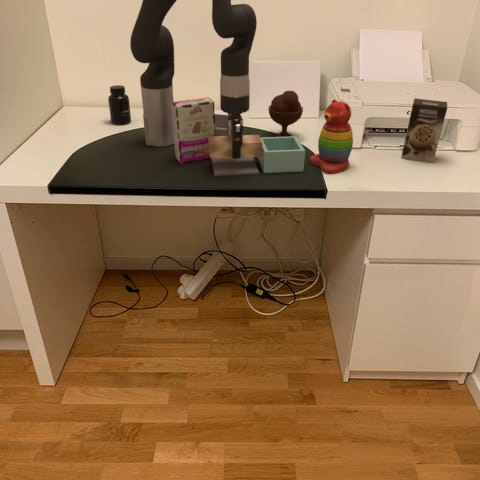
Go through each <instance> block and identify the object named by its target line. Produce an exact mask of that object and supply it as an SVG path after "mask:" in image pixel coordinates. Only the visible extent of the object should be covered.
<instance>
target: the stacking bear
mask: <svg viewBox="0 0 480 480" xmlns="http://www.w3.org/2000/svg"><path fill="white" fill-rule="evenodd" d="M323 115H324V117H323V118H324V119H325V120H324V121H326V122H325V123H323V126H322V128H321V130H320V134H319V136H318V144H317V147H318V153H317V154H313V155H311V156H310V158H309V159H308V162H309V163H310V164H311V165H314V166H318V167H319V168H320V169H321V172H323V173H324V174H329V175H333V174H338V173H342V172H344V171H345V170H347V169H349V167H350V161H349V158H350V156H351V153H352V149H353V145H354V137H353V136H354V135H353V134H354V133H353V129H352V127H351V124H350V123H349V121H350V120H351V116H352V109H351V107H350V104H349V103H346V102H345V101H338V100H336V99H333V100H332V101H331V103H330V104H329V105H328V106H327V107H326V108H325V110H324V113H323Z"/></svg>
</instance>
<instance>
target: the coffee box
mask: <svg viewBox="0 0 480 480" xmlns="http://www.w3.org/2000/svg"><path fill="white" fill-rule="evenodd" d="M447 111H448V101H440V100H432V99H431V100H430V99H425V98H416V97H415V98H413V102H412V107H411V111H410V117H409V121H408V125H407V130H406V134H405V138H404V142H403V146H402V150H401V151H402V152H401V157H400V158H401V159H405V160H411V161H416V162H417V161H419V162H426V163H434V161H435V157H436V152H437V150H438V145H439V141H440V138H441V134H442V130H443V127H444V126H443V125H444V122H445V119H446V114H447Z"/></svg>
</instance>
